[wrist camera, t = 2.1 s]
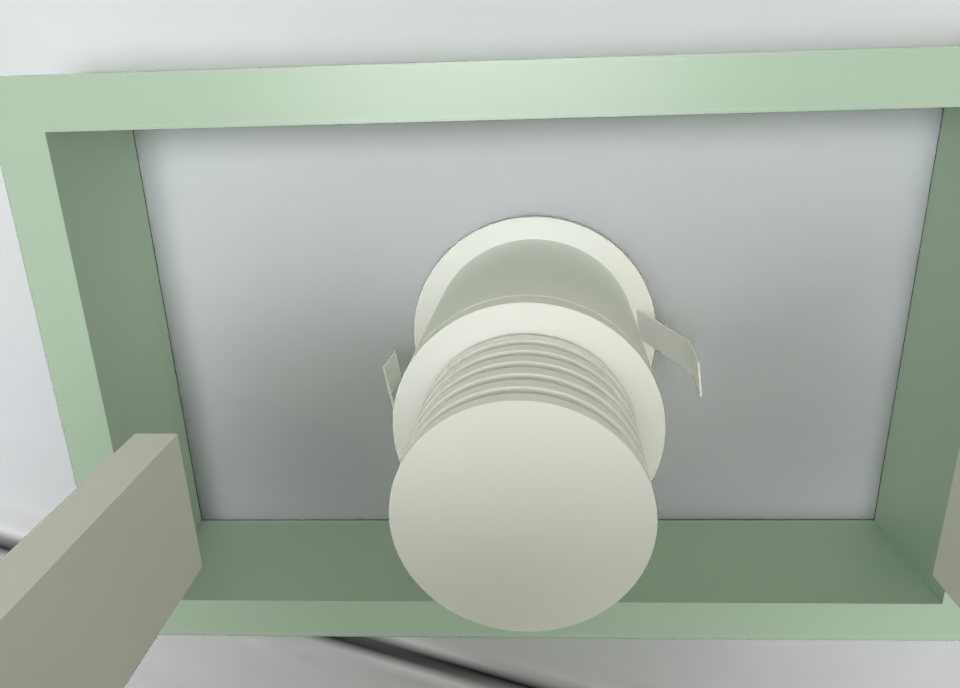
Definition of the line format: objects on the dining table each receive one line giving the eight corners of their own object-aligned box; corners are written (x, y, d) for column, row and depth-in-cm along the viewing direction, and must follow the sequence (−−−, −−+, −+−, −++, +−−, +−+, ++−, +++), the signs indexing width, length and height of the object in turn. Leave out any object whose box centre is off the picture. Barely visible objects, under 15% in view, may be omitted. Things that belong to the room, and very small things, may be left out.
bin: (171, 551, 25) (111, 634, 21) (79, 76, 20) (-21, 76, 16) (907, 552, 24) (980, 641, 20) (1002, 47, 19) (1124, 40, 15)
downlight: (660, 193, 21) (751, 296, 11) (681, 423, 23) (771, 669, 13) (378, 236, 22) (246, 363, 12) (425, 451, 24) (343, 696, 15)
